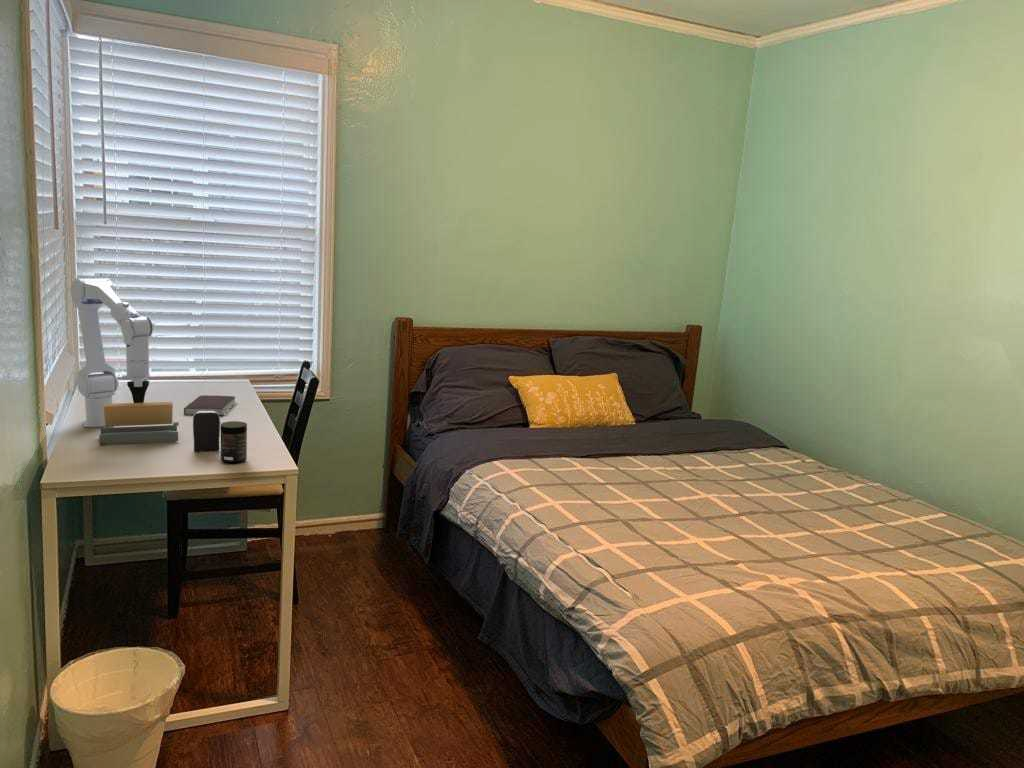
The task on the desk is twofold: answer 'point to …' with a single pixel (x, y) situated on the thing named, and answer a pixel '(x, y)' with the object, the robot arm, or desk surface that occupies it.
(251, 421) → the desk surface
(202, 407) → the book
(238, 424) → the supplement container
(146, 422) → the cover
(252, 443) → the desk surface
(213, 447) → the battery charger
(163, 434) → the grey tray with rod
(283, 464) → the desk surface
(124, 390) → the desk surface
